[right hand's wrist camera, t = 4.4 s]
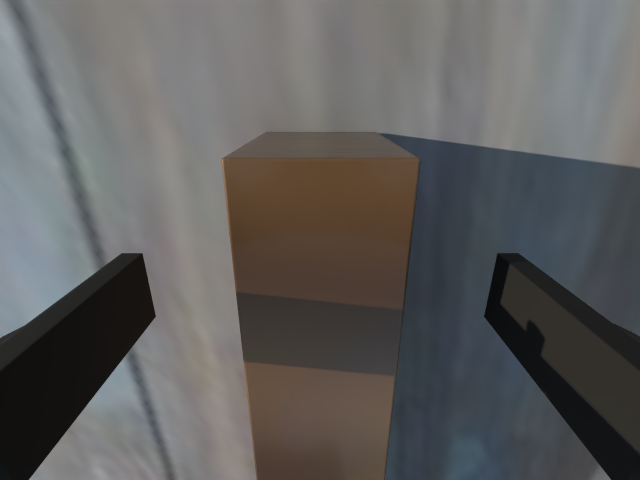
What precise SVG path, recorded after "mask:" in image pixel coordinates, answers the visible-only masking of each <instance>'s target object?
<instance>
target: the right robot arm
mask: <svg viewBox="0 0 640 480" xmlns="http://www.w3.org/2000/svg"><path fill="white" fill-rule="evenodd" d="M155 317H156V315H155V311H154V306H153V301H152V296H151V292H150V287H149V282H148V277H147V273H146V268H145V263H144V259H143V254H142V253H122V254H120V255H119V256H118V257H116V258H115V259H113V260H112V261H111V262H109V263H108V264H107V265H105V266H104V267H103V268H101V269H100V270H99V271H97V272H96V273H95V274H93V275H92V276H91V277H89V278H88V279H87V280H85V281H84V282H83V283H81V284H80V285H79V286H77V287H76V288H75V289H73V290H72V291H71V292H69V293H68V294H67V295H65V296H64V297H62V298H61V299H60V300H58V301H57V302H56V303H54V304H53V305H52V306H50V307H49V308H48V309H46V310H45V311H44V312H42V313H41V314H40V315H38V316H37V317H36V318H34V319H33V320H32V321H30V322H29V323H28V324H26V325H25V326H23V327H21V328H19V329H17V330H15V331H13V332H11V333H9V334H7V335H5V336H3V337H2V338H0V480H29V479H30V477H31V476H32V475H33V474H34V472H35V471H36V470H37V468H38V467H39V466H40V465H41V463H42V462H43V461H44V459H45V458H46V457H47V456H48V454H49V453H50V452H51V450H52V449H53V448H54V447H55V445H56V444H57V443H58V441H59V440H60V439H61V438H62V436H63V435H64V434H65V432H66V431H67V430H68V429H69V427H70V426H71V425H72V423H73V422H74V421H75V420H76V418H77V417H78V416H79V414H80V413H81V412H82V411H83V409H84V408H85V407H86V405H87V404H88V403H89V402H90V400H91V399H92V398H93V396H94V395H95V394H96V393H97V391H98V390H99V389H100V387H101V386H102V385H103V384H104V382H105V381H106V380H107V378H108V377H109V376H110V375H111V373H112V372H113V371H114V369H115V368H116V367H117V366H118V364H119V363H120V362H121V361H122V359H123V358H124V357H125V355H126V354H127V353H128V352H129V350H130V349H131V348H132V346H133V345H134V344H135V343H136V341H137V340H138V339H139V337H140V336H141V335H142V334H143V332H144V331H145V330H146V328H147V327H148V326H149V325H150V323H151V322H152V321H153V319H154V318H155ZM484 317H485V318H486V319H487V321H488V322H489V323H490V325H491V326H492V327H493V328H494V330H495V331H496V332H497V334H498V335H499V336H500V337H501V339H502V340H503V341H504V343H505V344H506V345H507V346H508V348H509V349H510V350H511V352H512V353H513V354H514V355H515V357H516V358H517V359H518V361H519V362H520V363H521V364H522V366H523V367H524V368H525V369H526V371H527V372H528V373H529V375H530V376H531V377H532V378H533V380H534V381H535V382H536V384H537V385H538V386H539V387H540V389H541V390H542V391H543V393H544V394H545V395H546V396H547V398H548V399H549V400H550V402H551V403H552V404H553V405H554V407H555V408H556V409H557V411H558V412H559V413H560V414H561V416H562V417H563V418H564V420H565V421H566V422H567V423H568V425H569V426H570V427H571V429H572V430H573V431H574V432H575V434H576V435H577V436H578V438H579V439H580V440H581V441H582V443H583V444H584V445H585V447H586V448H587V449H588V450H589V452H590V453H591V454H592V456H593V457H594V458H595V459H596V461H597V462H598V463H599V465H600V466H601V467H602V468H603V470H604V471H605V472H606V474H607V475H608V476H609V477H610V479H611V480H640V337H639V336H638V335H636V334H634V333H632V332H630V331H628V330H626V329H624V328H622V327H620V326H618V325H616V324H612V323H611V322H610V321H608V320H607V319H606V318H604V317H603V316H602V315H600V314H599V313H598V312H596V311H595V310H594V309H592V308H591V307H590V306H588V305H587V304H586V303H584V302H583V301H582V300H580V299H579V298H578V297H576V296H575V295H573V294H572V293H571V292H569V291H568V290H567V289H565V288H564V287H563V286H561V285H560V284H559V283H557V282H556V281H555V280H553V279H552V278H551V277H549V276H548V275H547V274H545V273H544V272H543V271H541V270H540V269H539V268H537V267H536V266H535V265H533V264H532V263H531V262H529V261H528V260H527V259H525V258H524V257H522V256H521V255H520V254H518V253H498V254H497V259H496V263H495V268H494V273H493V277H492V282H491V287H490V292H489V296H488V301H487V306H486V311H485V315H484Z"/></svg>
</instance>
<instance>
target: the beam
mask: <svg viewBox="0 0 640 480" xmlns="http://www.w3.org/2000/svg"><path fill="white" fill-rule="evenodd" d="M222 170H223V179H224V188H225V197H226V206H227V215H228V224H229V233H230V242H231V252H232V261H233V270H234V279H235V288H236V297H237V306H238V315H239V324H240V333H241V342H242V351H243V360H244V369H245V378H246V387H247V396H248V405H249V414H250V424H251V433H252V442H253V451H254V460H255V469H256V478H257V480H385V472H386V463H387V454H388V445H389V436H390V427H391V419H392V410H393V401H394V392H395V383H396V374H397V365H398V357H399V348H400V339H401V330H402V321H403V312H404V303H405V294H406V286H407V277H408V268H409V259H410V250H411V241H412V232H413V224H414V215H415V206H416V197H417V188H418V179H419V170H420V158H418V157H416V156H415V155H413V154H411V153H410V152H408V151H406V150H405V149H403V148H401V147H400V146H398V145H396V144H395V143H393V142H391V141H390V140H388V139H387V138H385V137H383V136H382V135H380V134H378V133H376V132H266V133H264V134H262V135H260V136H259V137H257V138H255V139H254V140H252V141H250V142H249V143H247V144H245V145H244V146H242V147H240V148H239V149H237V150H235V151H234V152H232V153H231V154H229V155H227V156H226V157H224V158H222Z"/></svg>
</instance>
